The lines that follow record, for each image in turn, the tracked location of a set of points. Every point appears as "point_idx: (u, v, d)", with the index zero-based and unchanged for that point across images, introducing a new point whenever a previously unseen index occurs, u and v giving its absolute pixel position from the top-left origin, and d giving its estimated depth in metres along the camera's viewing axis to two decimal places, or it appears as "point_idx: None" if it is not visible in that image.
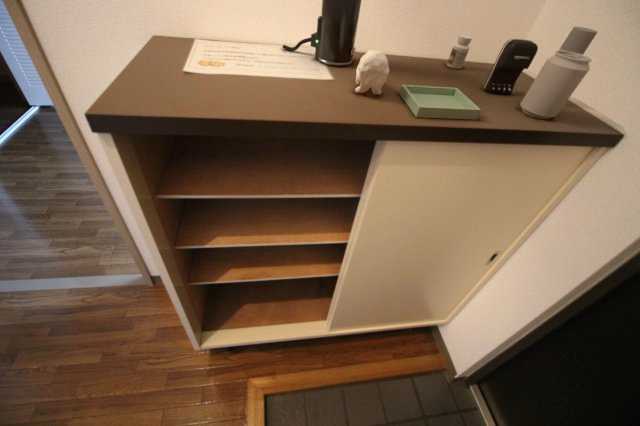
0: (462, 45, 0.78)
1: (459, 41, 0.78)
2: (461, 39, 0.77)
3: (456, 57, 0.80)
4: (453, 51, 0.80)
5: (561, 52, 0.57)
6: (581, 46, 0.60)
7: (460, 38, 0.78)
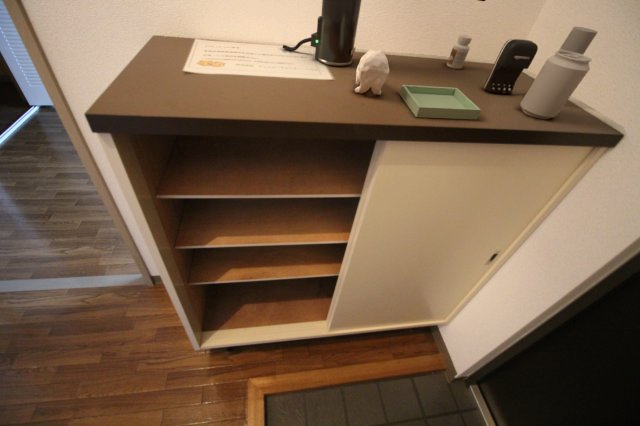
0: (462, 45, 0.78)
1: (459, 41, 0.78)
2: (461, 39, 0.77)
3: (456, 57, 0.80)
4: (453, 51, 0.80)
5: (561, 52, 0.57)
6: (581, 46, 0.60)
7: (460, 38, 0.78)
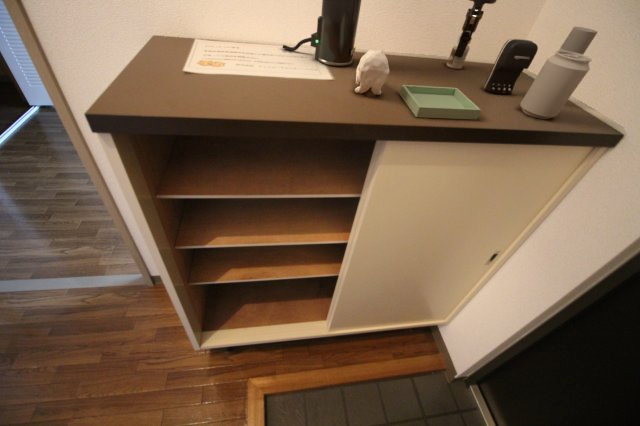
0: None
1: None
2: None
3: (456, 57, 0.80)
4: (453, 51, 0.80)
5: (561, 52, 0.57)
6: (581, 46, 0.60)
7: None
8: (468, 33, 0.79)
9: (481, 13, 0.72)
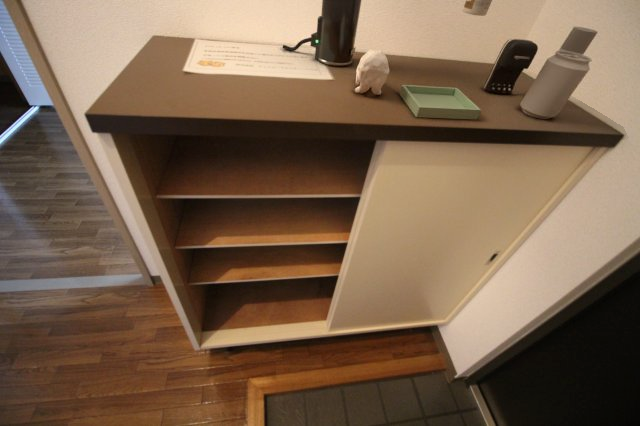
0: None
1: None
2: None
3: None
4: None
5: (561, 52, 0.57)
6: (581, 46, 0.60)
7: None
8: None
9: None
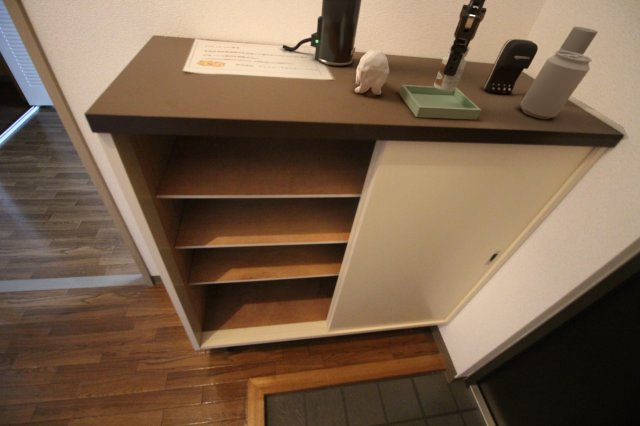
0: None
1: None
2: None
3: (446, 76, 0.55)
4: (442, 67, 0.55)
5: (561, 52, 0.57)
6: (581, 46, 0.60)
7: None
8: (463, 41, 0.54)
9: (483, 11, 0.47)
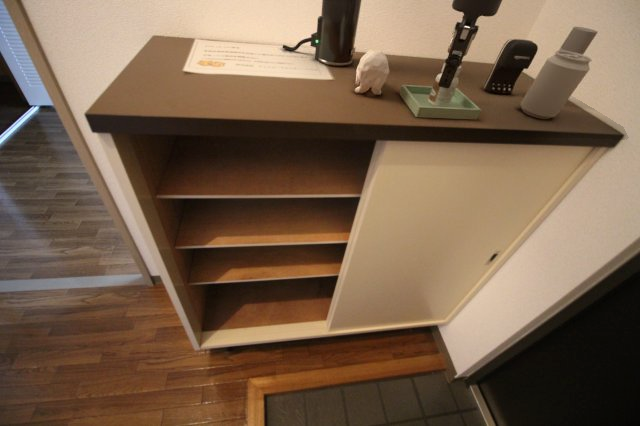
0: None
1: None
2: None
3: (440, 93, 0.57)
4: (436, 84, 0.57)
5: (561, 52, 0.57)
6: (581, 46, 0.60)
7: None
8: None
9: (475, 30, 0.49)
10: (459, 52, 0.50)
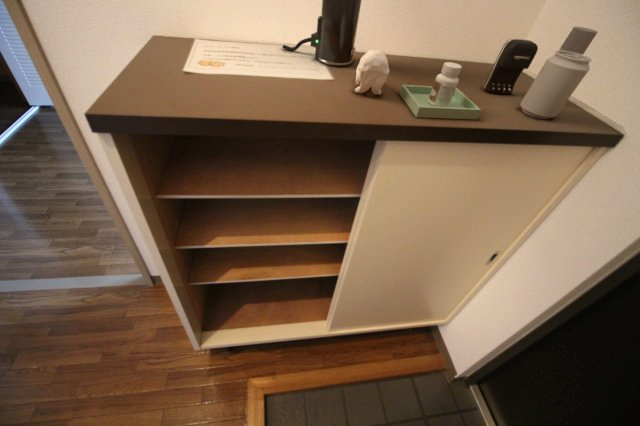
0: (448, 77, 0.56)
1: (444, 71, 0.56)
2: (446, 69, 0.55)
3: (440, 93, 0.57)
4: (436, 84, 0.57)
5: (561, 52, 0.57)
6: (581, 46, 0.60)
7: (445, 67, 0.55)
8: None
9: None
10: None
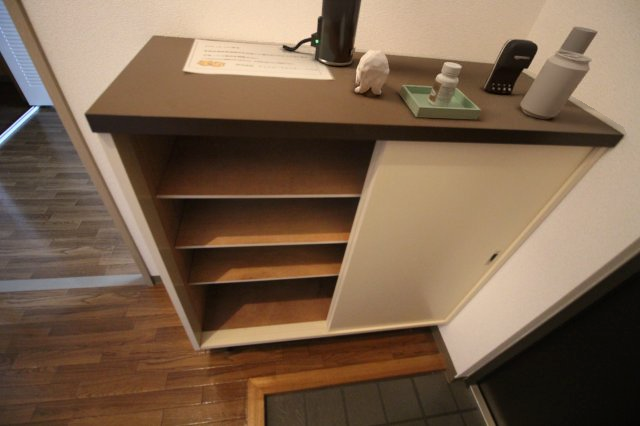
0: (448, 77, 0.56)
1: (444, 71, 0.56)
2: (446, 69, 0.55)
3: (440, 93, 0.57)
4: (436, 84, 0.57)
5: (561, 52, 0.57)
6: (581, 46, 0.60)
7: (445, 67, 0.55)
8: None
9: None
10: None
